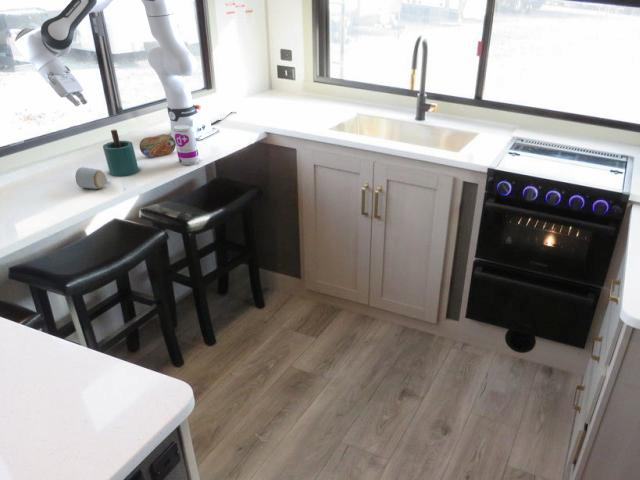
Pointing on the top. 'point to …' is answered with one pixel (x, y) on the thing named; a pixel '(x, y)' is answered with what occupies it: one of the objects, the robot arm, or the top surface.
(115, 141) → the dish brush
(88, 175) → the ceramic mug
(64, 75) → the robot arm
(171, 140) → the tin
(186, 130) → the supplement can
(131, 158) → the teal pen holder
